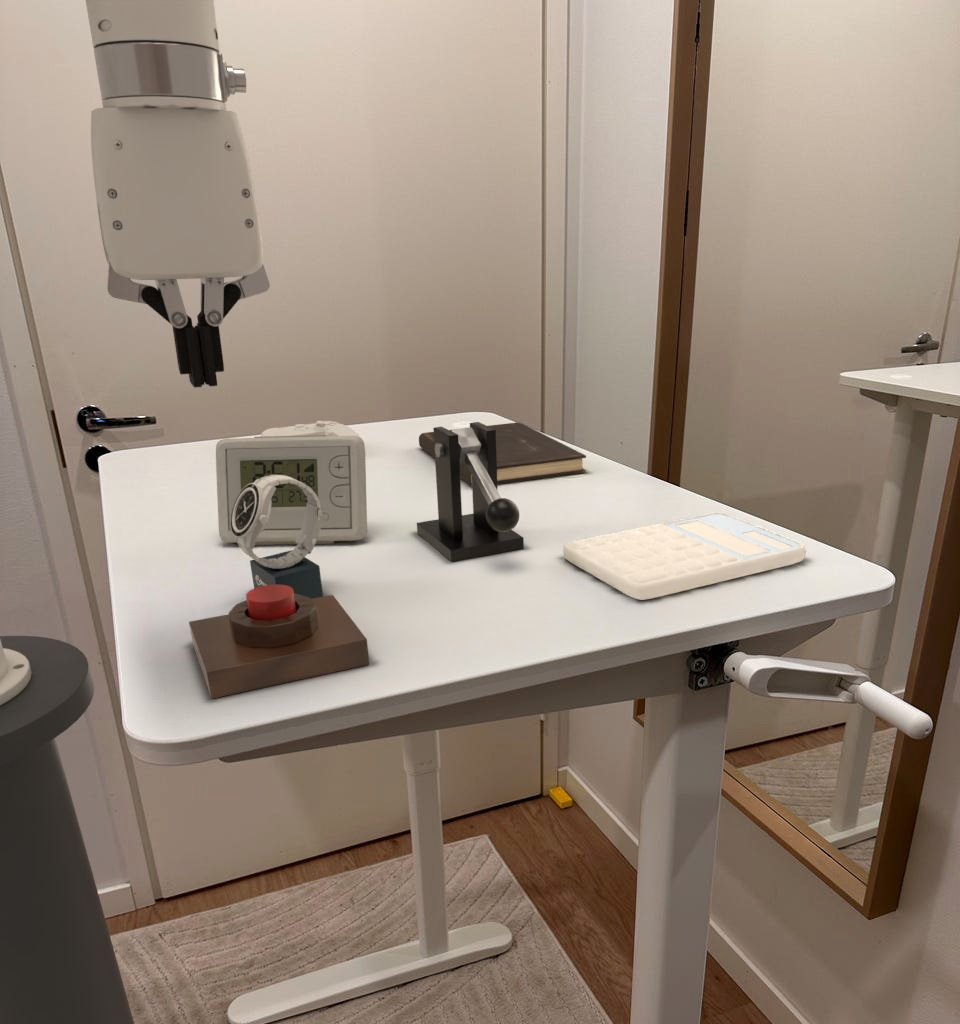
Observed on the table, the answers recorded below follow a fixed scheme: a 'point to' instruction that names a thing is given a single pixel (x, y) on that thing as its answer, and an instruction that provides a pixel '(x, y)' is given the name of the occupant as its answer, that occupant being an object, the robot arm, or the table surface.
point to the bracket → (452, 528)
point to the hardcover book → (522, 455)
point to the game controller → (312, 430)
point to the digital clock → (308, 459)
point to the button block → (276, 646)
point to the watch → (285, 566)
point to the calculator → (682, 554)
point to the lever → (486, 483)
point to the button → (271, 602)
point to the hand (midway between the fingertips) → (203, 383)
